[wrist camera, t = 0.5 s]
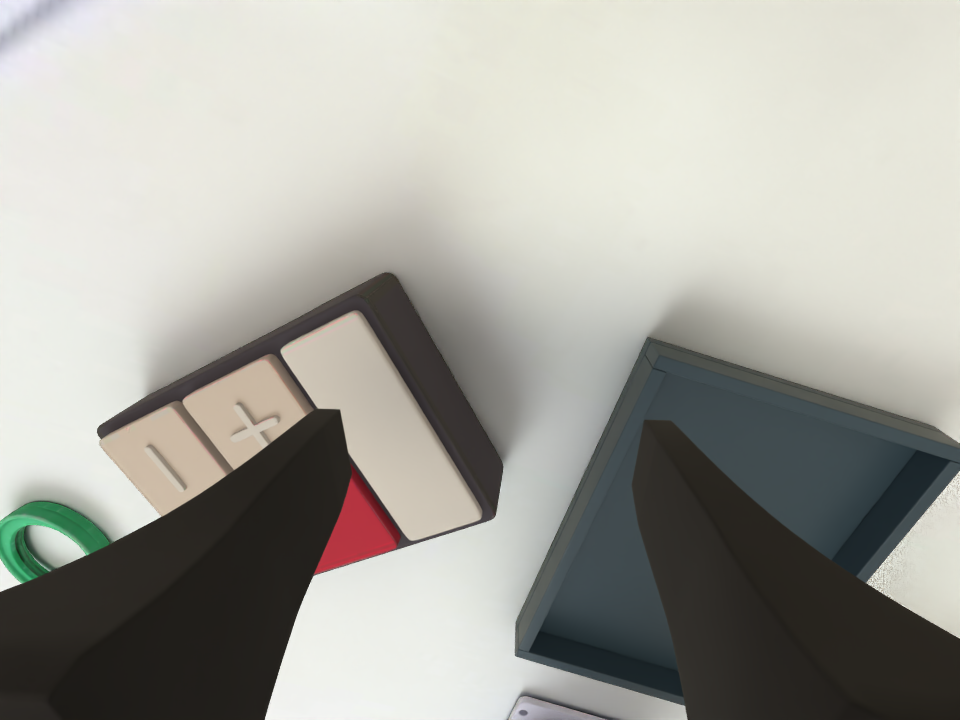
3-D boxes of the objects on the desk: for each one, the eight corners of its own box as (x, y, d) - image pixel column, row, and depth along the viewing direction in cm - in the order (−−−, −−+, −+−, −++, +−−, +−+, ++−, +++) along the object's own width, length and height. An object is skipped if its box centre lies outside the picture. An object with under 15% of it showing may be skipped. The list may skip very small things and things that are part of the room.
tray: (733, 686, 28) (748, 724, 27) (515, 622, 28) (514, 656, 26) (935, 426, 21) (975, 453, 19) (647, 336, 21) (659, 354, 19)
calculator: (75, 439, 21) (354, 296, 17) (149, 393, 25) (392, 267, 21) (230, 613, 25) (498, 532, 20) (274, 548, 28) (507, 468, 24)
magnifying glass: (-8, 523, 29) (-39, 544, 27) (56, 484, 27) (27, 504, 26) (169, 684, 33) (152, 710, 32) (234, 659, 32) (219, 686, 30)
